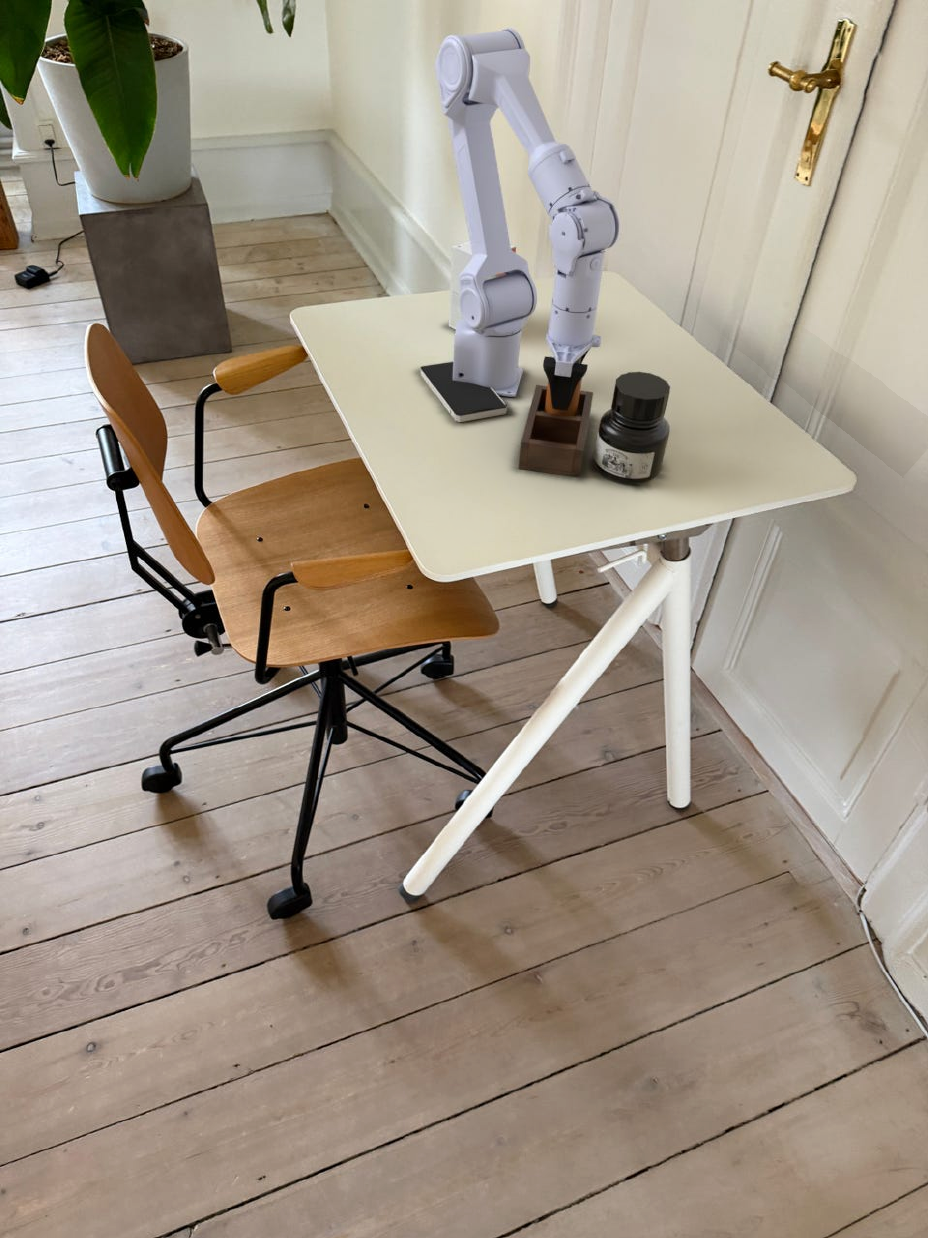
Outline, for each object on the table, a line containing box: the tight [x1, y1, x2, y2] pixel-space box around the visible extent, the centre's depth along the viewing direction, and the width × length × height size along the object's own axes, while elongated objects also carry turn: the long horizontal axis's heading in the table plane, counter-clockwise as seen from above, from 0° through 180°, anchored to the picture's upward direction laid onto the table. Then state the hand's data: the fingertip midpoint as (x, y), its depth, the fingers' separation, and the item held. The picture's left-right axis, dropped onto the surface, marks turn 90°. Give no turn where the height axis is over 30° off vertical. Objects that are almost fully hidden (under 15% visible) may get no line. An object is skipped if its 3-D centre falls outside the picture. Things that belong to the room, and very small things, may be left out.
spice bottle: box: [545, 357, 583, 416], centre depth 124 cm, size 4×4×10 cm
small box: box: [448, 239, 517, 331], centre depth 146 cm, size 8×6×13 cm
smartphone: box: [420, 361, 508, 423], centre depth 134 cm, size 8×1×15 cm
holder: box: [518, 384, 594, 478], centre depth 125 cm, size 8×15×4 cm, turn 169°
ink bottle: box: [593, 371, 671, 485], centre depth 118 cm, size 10×9×12 cm
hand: (562, 399), depth 125 cm, fingers closed on spice bottle, 4 cm apart
